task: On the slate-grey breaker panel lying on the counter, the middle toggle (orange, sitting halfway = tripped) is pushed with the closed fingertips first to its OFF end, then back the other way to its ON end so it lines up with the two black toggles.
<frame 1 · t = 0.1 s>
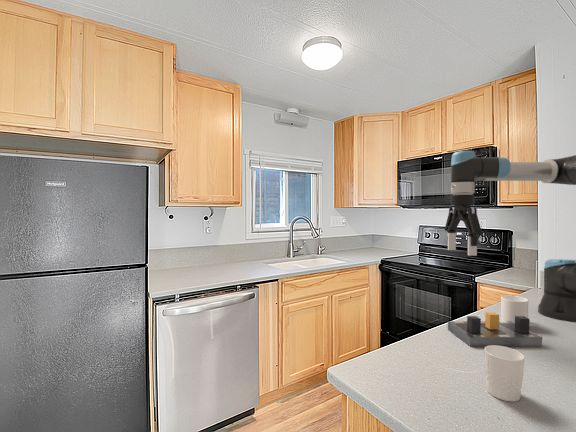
hand: (461, 252, 115), 28 cm above the worktop, tool pointing down, fingers open, 13 cm apart
mug: (515, 324, 120), on the worktop
panel: (491, 337, 108), on the worktop
tripped toggle: (492, 320, 107), point 6 cm above the worktop, slide at 0.0 cm
white cup: (503, 394, 76), on the worktop
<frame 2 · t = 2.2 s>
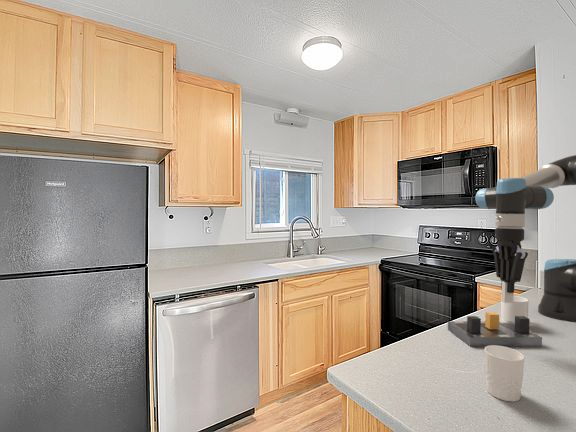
hand: (507, 301, 99), 15 cm above the worktop, tool pointing down, fingers closed
nothing on the worktop moved.
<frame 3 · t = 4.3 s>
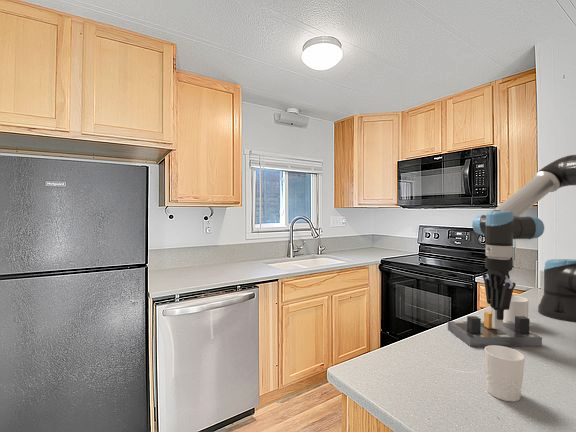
hand: (497, 327, 105), 4 cm above the worktop, tool pointing down, fingers closed
tripped toggle: (490, 319, 108), point 6 cm above the worktop, slide at -0.7 cm, touching gripper
everything else where it was.
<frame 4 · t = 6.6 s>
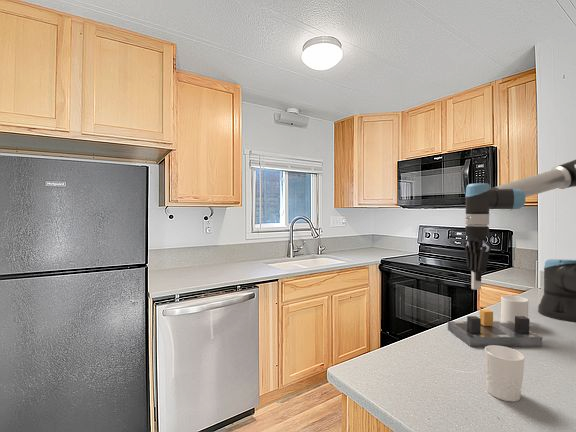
hand: (476, 288, 117), 14 cm above the worktop, tool pointing down, fingers closed
tripped toggle: (486, 317, 110), point 6 cm above the worktop, slide at -3.1 cm
everything else where it was.
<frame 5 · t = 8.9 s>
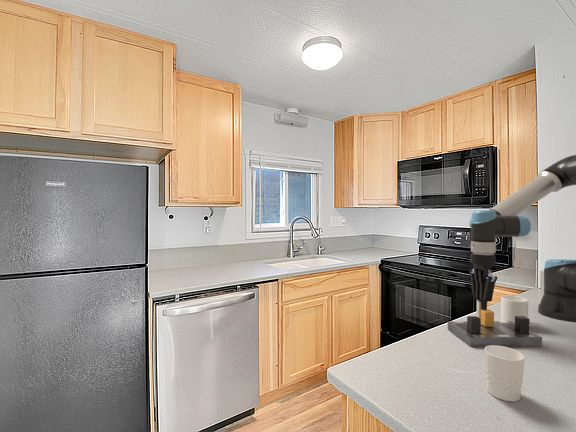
hand: (481, 318, 113), 4 cm above the worktop, tool pointing down, fingers closed
tripped toggle: (487, 318, 110), point 6 cm above the worktop, slide at -2.5 cm, touching gripper
everything else where it was.
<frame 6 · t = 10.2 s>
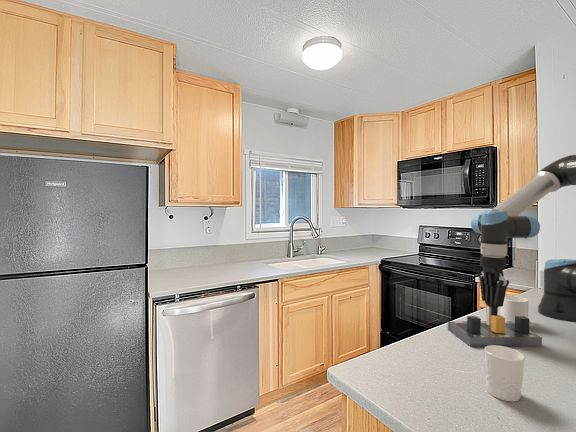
hand: (491, 324, 107), 4 cm above the worktop, tool pointing down, fingers closed
tripped toggle: (498, 324, 104), point 6 cm above the worktop, slide at 3.1 cm, touching gripper
everything else where it was.
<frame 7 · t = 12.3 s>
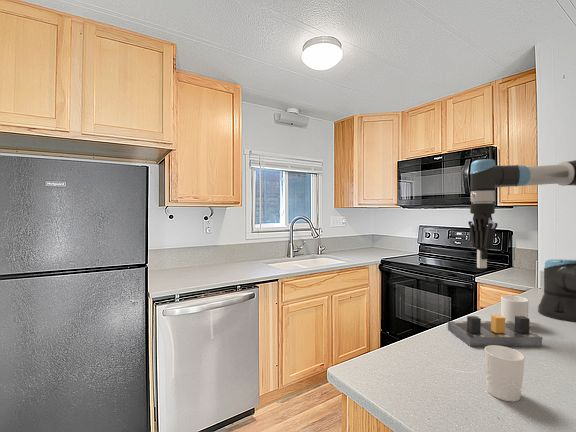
hand: (481, 267, 115), 22 cm above the worktop, tool pointing down, fingers closed
tripped toggle: (498, 324, 104), point 6 cm above the worktop, slide at 3.1 cm
everything else where it was.
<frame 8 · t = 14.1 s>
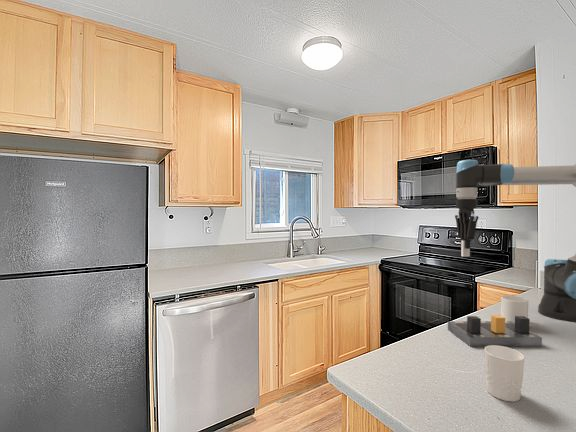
hand: (465, 256, 129), 24 cm above the worktop, tool pointing down, fingers closed
nothing on the worktop moved.
at the end: tripped toggle slide at 3.1 cm; tripped toggle touching nothing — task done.
